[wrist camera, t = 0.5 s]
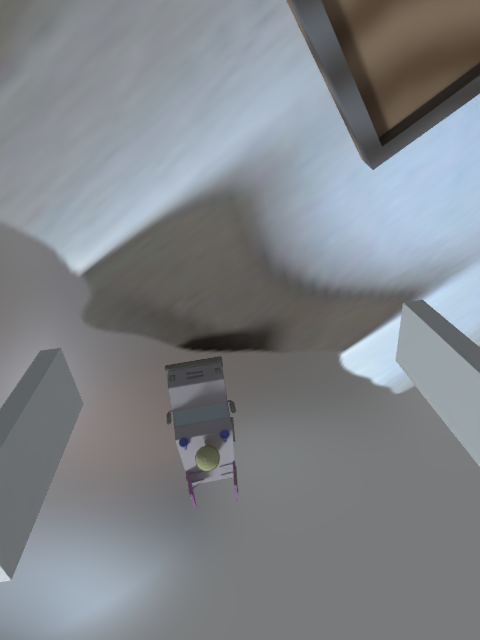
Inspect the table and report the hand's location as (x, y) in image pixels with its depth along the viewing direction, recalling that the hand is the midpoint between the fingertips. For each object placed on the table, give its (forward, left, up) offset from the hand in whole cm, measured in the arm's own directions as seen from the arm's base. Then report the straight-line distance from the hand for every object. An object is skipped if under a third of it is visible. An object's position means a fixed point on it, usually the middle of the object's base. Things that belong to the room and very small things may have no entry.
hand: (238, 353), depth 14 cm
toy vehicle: (+30, -24, -26) cm, 46 cm away
